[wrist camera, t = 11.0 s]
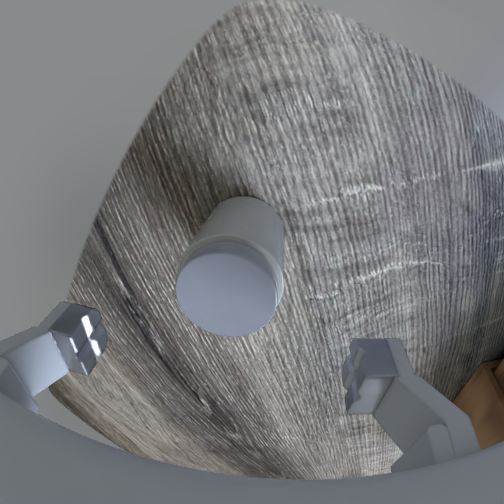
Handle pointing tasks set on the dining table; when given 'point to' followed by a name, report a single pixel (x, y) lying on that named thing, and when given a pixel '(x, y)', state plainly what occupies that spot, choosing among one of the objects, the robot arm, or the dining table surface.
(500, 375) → the drawer
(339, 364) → the dining table surface
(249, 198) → the salt shaker
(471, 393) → the cabinet
